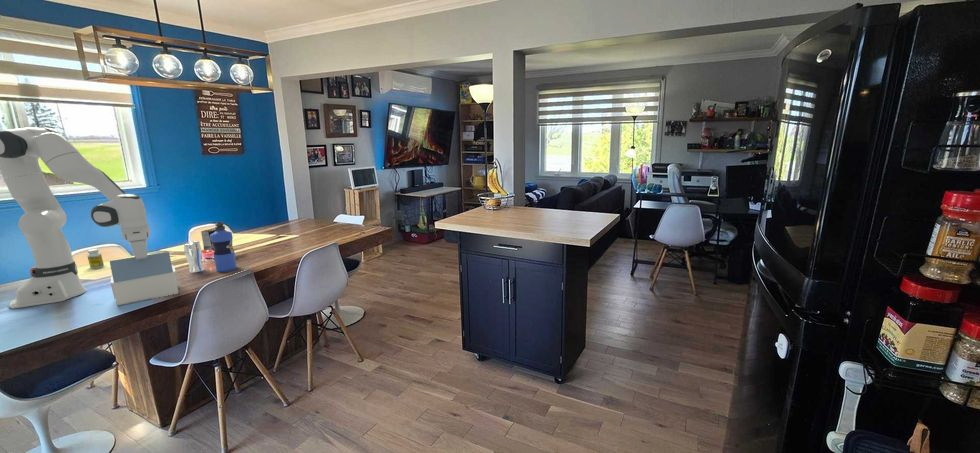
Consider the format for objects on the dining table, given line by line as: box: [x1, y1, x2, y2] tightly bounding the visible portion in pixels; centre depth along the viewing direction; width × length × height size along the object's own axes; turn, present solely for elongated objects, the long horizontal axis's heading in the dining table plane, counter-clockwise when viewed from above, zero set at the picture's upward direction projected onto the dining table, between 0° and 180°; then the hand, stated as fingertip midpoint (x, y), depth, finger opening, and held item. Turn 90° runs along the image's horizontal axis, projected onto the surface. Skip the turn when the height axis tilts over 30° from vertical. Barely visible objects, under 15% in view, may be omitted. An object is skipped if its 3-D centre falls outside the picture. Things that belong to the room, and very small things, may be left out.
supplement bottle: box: [87, 248, 105, 269], centre depth 216 cm, size 5×5×10 cm
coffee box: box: [200, 227, 216, 251], centre depth 232 cm, size 9×6×16 cm
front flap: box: [109, 251, 173, 283], centre depth 169 cm, size 19×9×1 cm
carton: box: [110, 264, 180, 307], centre depth 175 cm, size 21×14×10 cm
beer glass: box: [183, 240, 205, 274], centre depth 207 cm, size 7×7×15 cm
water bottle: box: [210, 221, 238, 273], centre depth 207 cm, size 9×9×25 cm
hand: (143, 264), depth 172 cm, fingers closed
